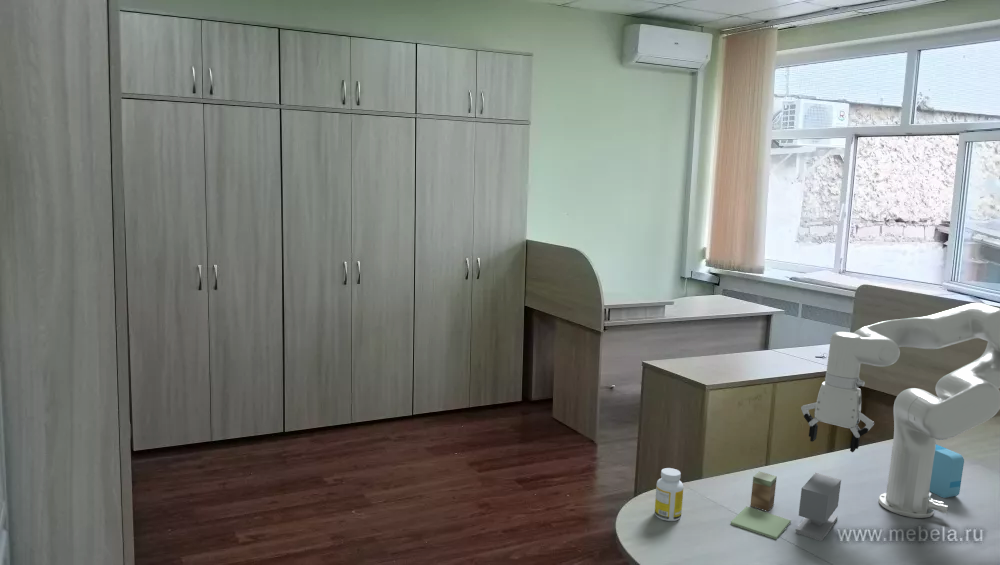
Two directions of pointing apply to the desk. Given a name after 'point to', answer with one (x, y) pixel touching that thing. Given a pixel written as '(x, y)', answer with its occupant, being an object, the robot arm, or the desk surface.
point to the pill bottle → (669, 495)
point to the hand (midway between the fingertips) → (832, 445)
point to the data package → (946, 472)
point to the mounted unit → (818, 506)
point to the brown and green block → (763, 491)
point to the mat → (761, 522)
